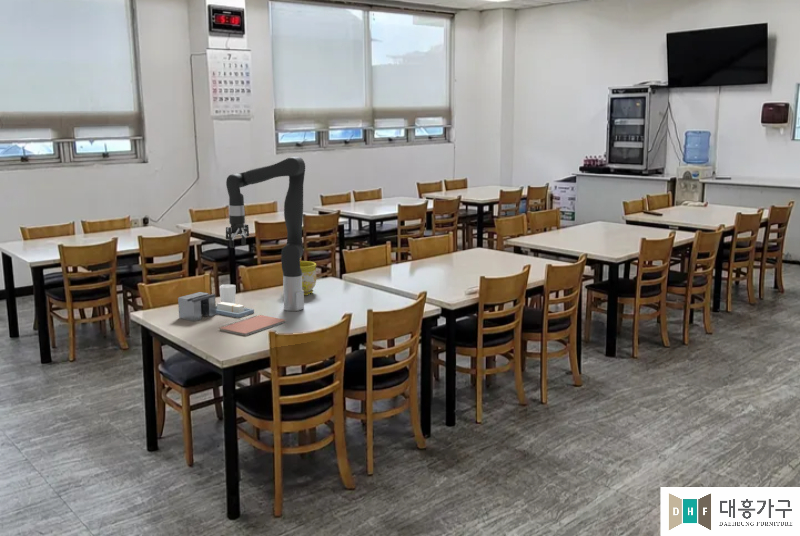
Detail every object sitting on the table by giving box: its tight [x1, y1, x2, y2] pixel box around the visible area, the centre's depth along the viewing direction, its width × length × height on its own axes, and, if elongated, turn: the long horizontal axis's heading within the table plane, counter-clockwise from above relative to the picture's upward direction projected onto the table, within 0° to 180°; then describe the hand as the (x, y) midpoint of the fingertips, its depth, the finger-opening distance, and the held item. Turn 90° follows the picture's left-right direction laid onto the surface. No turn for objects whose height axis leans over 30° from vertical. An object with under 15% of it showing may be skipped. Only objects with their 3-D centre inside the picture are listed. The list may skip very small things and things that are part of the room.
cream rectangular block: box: [216, 301, 245, 313], centre depth 356 cm, size 14×4×4 cm, turn 60°
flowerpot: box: [300, 260, 317, 296], centre depth 397 cm, size 18×18×16 cm
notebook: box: [219, 314, 286, 336], centre depth 333 cm, size 27×17×2 cm, turn 149°
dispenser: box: [177, 291, 217, 322], centre depth 347 cm, size 10×14×10 cm
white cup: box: [219, 283, 237, 304], centre depth 369 cm, size 8×8×10 cm
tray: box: [216, 305, 255, 319], centre depth 356 cm, size 20×11×2 cm, turn 60°
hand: (237, 246), depth 366 cm, fingers open, 8 cm apart
